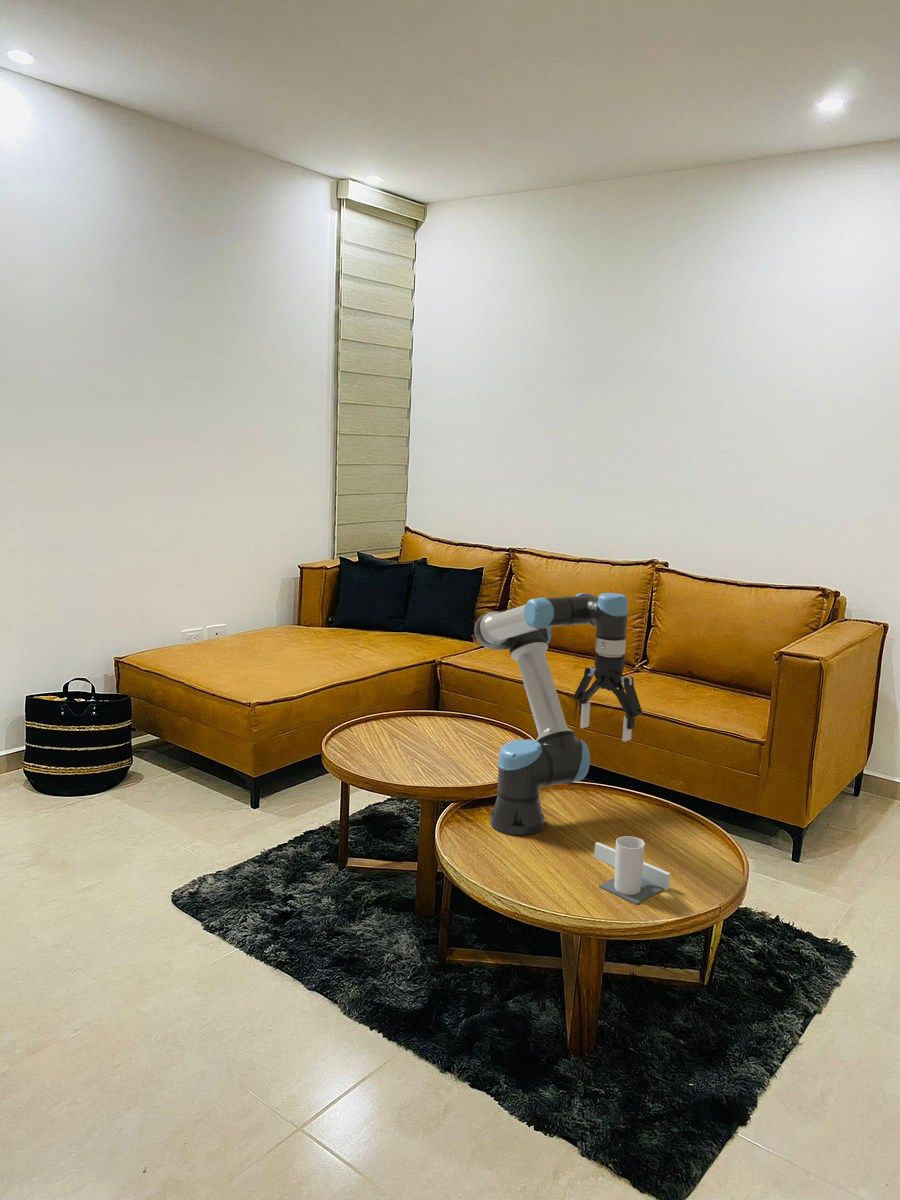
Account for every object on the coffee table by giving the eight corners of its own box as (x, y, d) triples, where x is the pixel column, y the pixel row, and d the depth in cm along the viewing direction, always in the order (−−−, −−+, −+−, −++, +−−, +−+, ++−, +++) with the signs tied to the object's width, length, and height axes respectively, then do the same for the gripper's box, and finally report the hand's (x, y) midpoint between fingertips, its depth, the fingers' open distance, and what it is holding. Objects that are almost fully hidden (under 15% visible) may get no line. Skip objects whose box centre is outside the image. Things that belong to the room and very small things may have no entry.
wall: (594, 857, 232) (595, 843, 231) (597, 856, 232) (597, 842, 232) (666, 890, 216) (667, 874, 215) (669, 888, 216) (670, 873, 216)
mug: (632, 899, 210) (635, 851, 208) (607, 889, 215) (610, 842, 213) (653, 884, 218) (657, 838, 215) (629, 874, 222) (632, 829, 220)
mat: (599, 887, 216) (599, 885, 216) (626, 873, 224) (626, 871, 224) (636, 904, 208) (636, 903, 208) (663, 889, 216) (663, 888, 216)
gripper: (562, 646, 235) (559, 724, 238) (641, 665, 217) (636, 749, 220) (581, 643, 240) (577, 719, 243) (659, 661, 222) (654, 743, 225)
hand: (605, 733), depth 232 cm, fingers open, 13 cm apart
